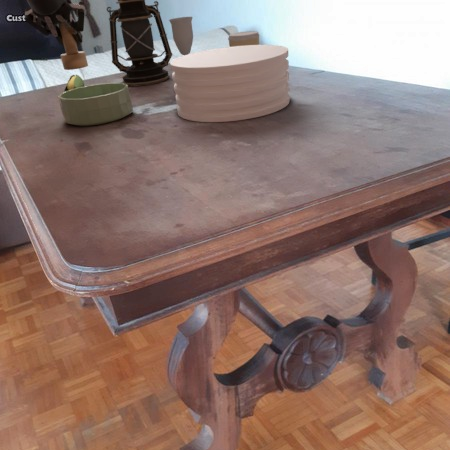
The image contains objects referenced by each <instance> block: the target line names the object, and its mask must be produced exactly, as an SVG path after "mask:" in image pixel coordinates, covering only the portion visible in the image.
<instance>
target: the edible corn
mask: <svg viewBox="0 0 450 450" xmlns="http://www.w3.org/2000/svg"><path fill="white" fill-rule="evenodd" d="M83 86H85V81H84V80H83V78H82V77H81V76H80V75H78V74H72V75H71V76H70V77H69V78H68V80H67V83H66V86H65V88H64V91H63V92H65V91H68V90H71V89H75V88H79V87H83Z"/></svg>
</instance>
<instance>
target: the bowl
mask: <svg viewBox="0 0 450 450" xmlns="http://www.w3.org/2000/svg"><path fill="white" fill-rule="evenodd" d="M129 87H130V86H128V85H127V84H125V83H123V82H103V83H95V84H89V85H84V86H83V87H79V88H75V89H71V90H68V91H63V92H60V93H59V94H58V95H57V99H58V103H59V105H60V110H61V113H62V117H63V120H64V122H65V123H66V124H69V125H72V126H73V125H74V126H79V127H83V126H84V127H85V126H86V127H87V126H96V125H97V126H98V125H105V124H108V123H112V122H116V121H119V120H121V119H123V118H125V117H127V116H128V115H130V114H131V113H133V112H134V107H133V102H132V98H131V93H130V92H131V91H130V88H129Z"/></svg>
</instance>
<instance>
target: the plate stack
mask: <svg viewBox="0 0 450 450" xmlns="http://www.w3.org/2000/svg"><path fill="white" fill-rule="evenodd" d="M288 57H289V48H288V47H286V46H283V45H279V44H278V45H277V44H259V45H245V46H234V47H230V46H228V47H227V46H226V47H219V48H211V49H206V50H201V51H195V52H190V53H189V54H187V55H181V56H178V57H176V58H174V59H171V60H170V61H169V66H170V70H171V71H172V73H171V78H172V82H173V83H174V84H173V91H174V93H175V97H174V98H175V103H176V105H177V107H176V110H177V115H178V116H179V117H180V118H181V119H183V120H187V121H191V122H192V121H193V122H200V123H226V122H227V123H228V122H238V121H244V120H250V119H255V118H259V117H263V116H268V115H270V114H274V113H276V112H278V111H281V110H283V109H285V108H286V107H287V106H288V105H289V104H290V94H289V92H290V83H289V81H290V72H289V71H288V69H290V64H289V63H290V62H289V59H287V58H288Z"/></svg>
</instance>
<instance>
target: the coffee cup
mask: <svg viewBox="0 0 450 450" xmlns="http://www.w3.org/2000/svg"><path fill="white" fill-rule="evenodd" d="M227 40H228V47H234V46H245V45H260V33H259V31H258V30H249V31H248V30H246V31H240V32H233V33H230V34H229V35H228V37H227Z"/></svg>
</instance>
